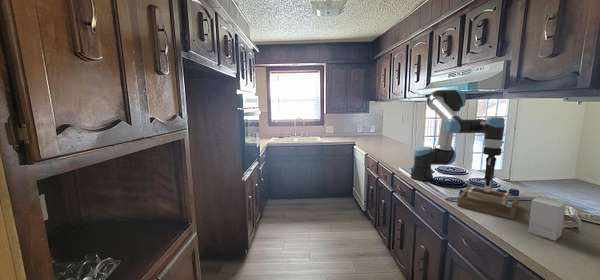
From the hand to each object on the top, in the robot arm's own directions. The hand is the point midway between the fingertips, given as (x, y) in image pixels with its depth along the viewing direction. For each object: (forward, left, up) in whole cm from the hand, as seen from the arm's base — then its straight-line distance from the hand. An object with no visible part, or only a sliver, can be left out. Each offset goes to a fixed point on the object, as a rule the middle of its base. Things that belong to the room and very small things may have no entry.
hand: (487, 190), depth 136 cm
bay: (-5, 0, -10) cm, 11 cm away
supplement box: (+14, +23, -10) cm, 29 cm away
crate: (0, 0, -8) cm, 8 cm away
